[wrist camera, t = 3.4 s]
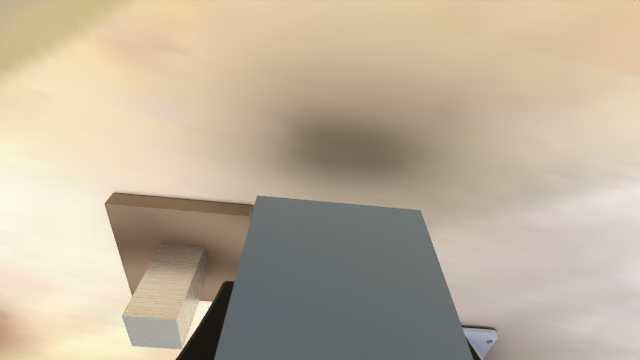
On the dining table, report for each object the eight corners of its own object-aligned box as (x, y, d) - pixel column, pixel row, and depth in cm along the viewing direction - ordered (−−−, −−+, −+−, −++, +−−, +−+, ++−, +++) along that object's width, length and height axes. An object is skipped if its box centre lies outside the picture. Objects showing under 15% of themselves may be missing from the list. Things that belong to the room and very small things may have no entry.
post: (207, 275, 23) (182, 349, 19) (166, 272, 23) (132, 346, 19) (204, 246, 21) (176, 319, 17) (161, 242, 21) (121, 316, 17)
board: (252, 292, 25) (249, 304, 25) (138, 283, 25) (132, 295, 24) (252, 205, 21) (249, 216, 20) (113, 193, 20) (104, 203, 20)
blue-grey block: (385, 310, 14) (424, 541, 9) (256, 301, 14) (212, 533, 8) (420, 210, 11) (510, 463, 6) (257, 195, 11) (191, 446, 6)
